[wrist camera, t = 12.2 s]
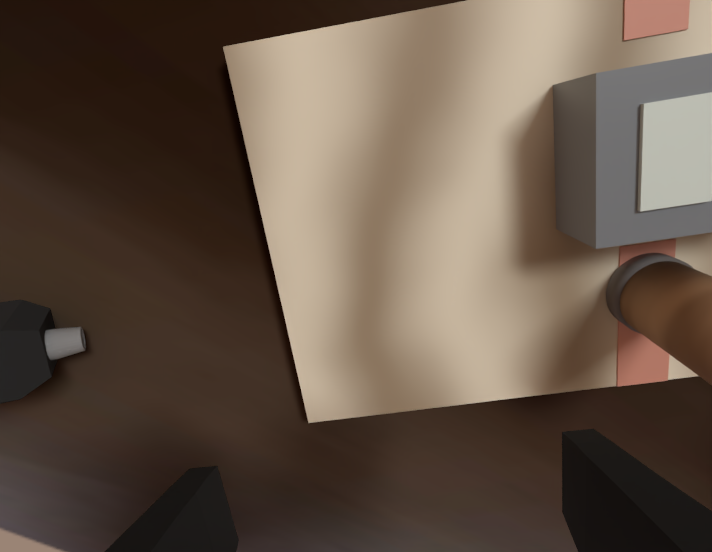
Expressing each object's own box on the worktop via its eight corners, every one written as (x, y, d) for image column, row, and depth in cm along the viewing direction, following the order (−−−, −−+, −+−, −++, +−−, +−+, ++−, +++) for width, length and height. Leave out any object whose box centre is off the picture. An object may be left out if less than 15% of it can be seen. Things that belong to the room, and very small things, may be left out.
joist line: (688, -41, 14) (692, -43, 14) (664, 377, 18) (667, 380, 18) (621, -28, 14) (625, -31, 14) (614, 383, 18) (617, 386, 18)
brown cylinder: (703, 288, 17) (897, 377, 11) (638, 340, 18) (785, 452, 11) (654, 236, 16) (829, 298, 10) (589, 292, 17) (715, 383, 11)
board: (964, -86, 14) (1007, -102, 13) (874, 340, 18) (902, 351, 17) (231, 52, 16) (223, 46, 15) (311, 409, 20) (308, 423, 19)
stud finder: (772, 46, 14) (878, 23, 11) (755, 199, 16) (845, 214, 13) (552, 84, 15) (598, 72, 12) (556, 229, 16) (598, 250, 13)
